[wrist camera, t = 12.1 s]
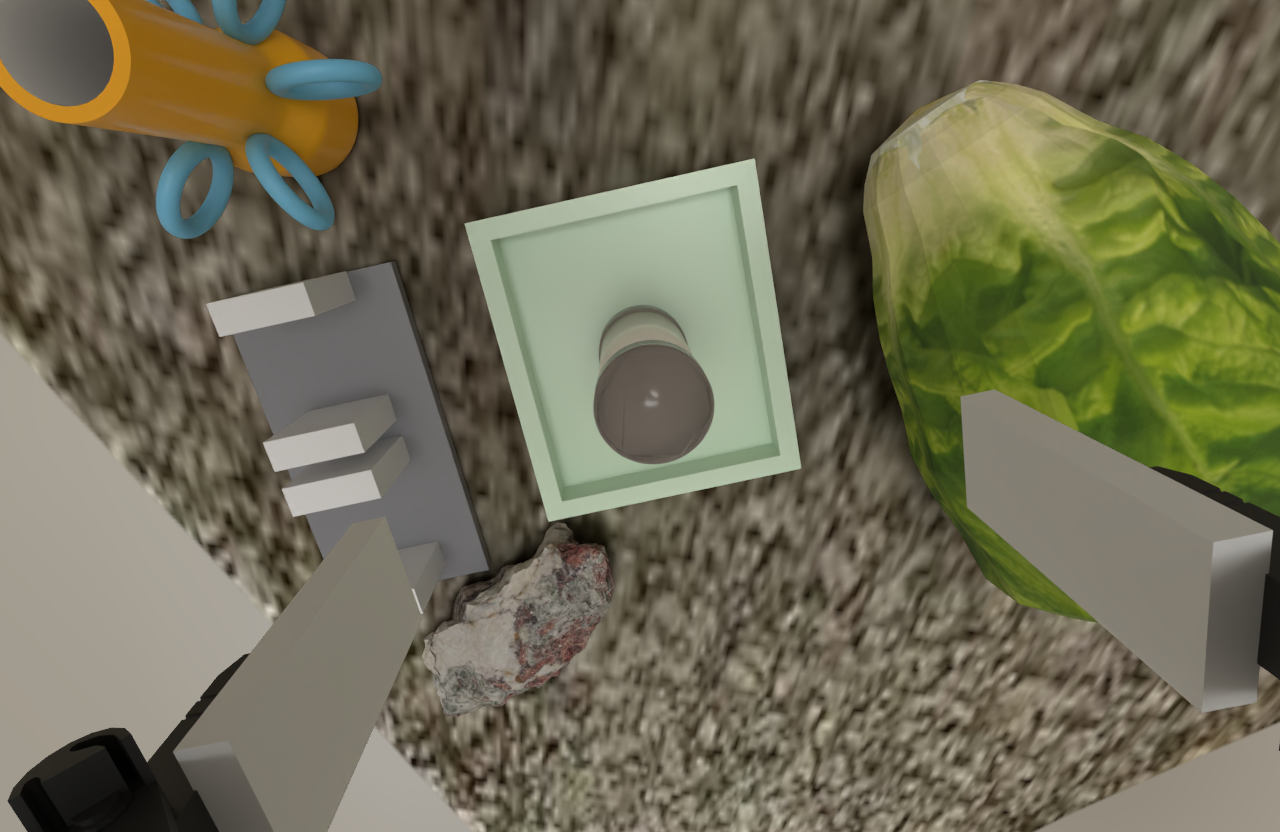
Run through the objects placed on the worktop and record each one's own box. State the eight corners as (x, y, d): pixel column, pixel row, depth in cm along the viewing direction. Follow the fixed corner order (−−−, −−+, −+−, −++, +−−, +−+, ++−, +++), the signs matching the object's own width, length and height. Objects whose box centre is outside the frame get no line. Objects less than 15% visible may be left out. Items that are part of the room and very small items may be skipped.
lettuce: (869, 152, 40) (1196, -83, 27) (1065, 476, 42) (1459, 412, 29) (694, 261, 31) (1054, -12, 18) (955, 665, 33) (1454, 702, 20)
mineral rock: (470, 710, 44) (455, 764, 40) (388, 624, 42) (363, 672, 37) (660, 593, 42) (666, 637, 38) (584, 496, 40) (581, 531, 35)
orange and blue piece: (362, 276, 35) (190, 327, 21) (158, 184, 34) (-180, 172, 19) (446, 38, 32) (311, -94, 18) (225, -76, 30) (-120, -322, 16)
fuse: (590, 315, 36) (580, 362, 25) (676, 296, 35) (702, 336, 25) (610, 397, 37) (608, 475, 27) (692, 379, 37) (723, 450, 26)
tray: (474, 222, 35) (464, 223, 32) (744, 161, 34) (754, 158, 32) (552, 502, 39) (548, 521, 37) (789, 452, 39) (801, 468, 37)
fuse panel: (227, 297, 35) (155, 315, 30) (395, 259, 35) (353, 270, 29) (345, 593, 41) (303, 655, 35) (491, 562, 40) (471, 620, 35)
